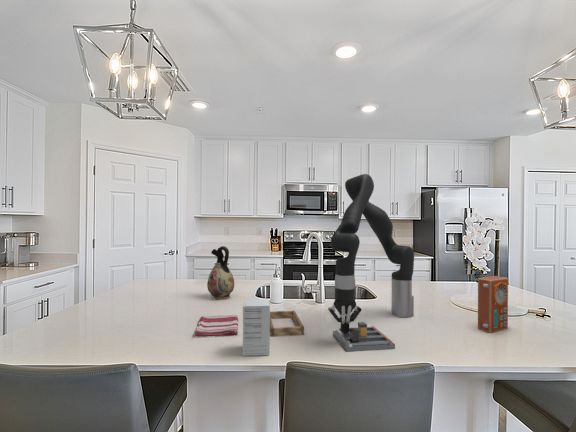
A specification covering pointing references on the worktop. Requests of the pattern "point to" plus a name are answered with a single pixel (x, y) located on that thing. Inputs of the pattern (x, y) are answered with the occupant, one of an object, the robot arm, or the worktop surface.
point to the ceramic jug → (220, 276)
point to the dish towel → (217, 326)
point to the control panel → (492, 303)
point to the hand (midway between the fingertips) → (344, 332)
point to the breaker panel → (363, 340)
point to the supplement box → (256, 327)
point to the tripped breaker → (362, 328)
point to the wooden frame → (286, 330)
